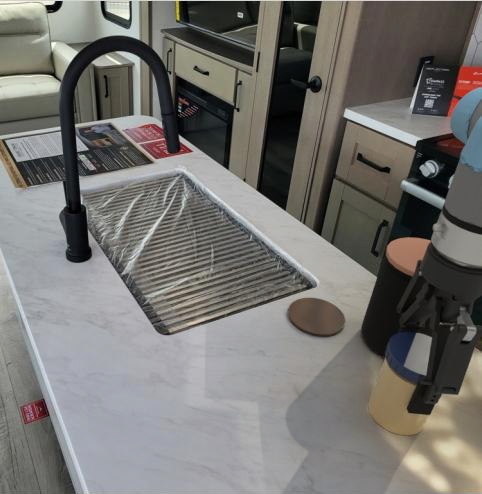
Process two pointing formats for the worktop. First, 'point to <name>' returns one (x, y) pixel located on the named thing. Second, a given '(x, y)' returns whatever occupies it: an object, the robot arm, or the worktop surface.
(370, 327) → the coffee jar
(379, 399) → the jar
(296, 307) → the coaster
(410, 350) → the lid
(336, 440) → the worktop surface
